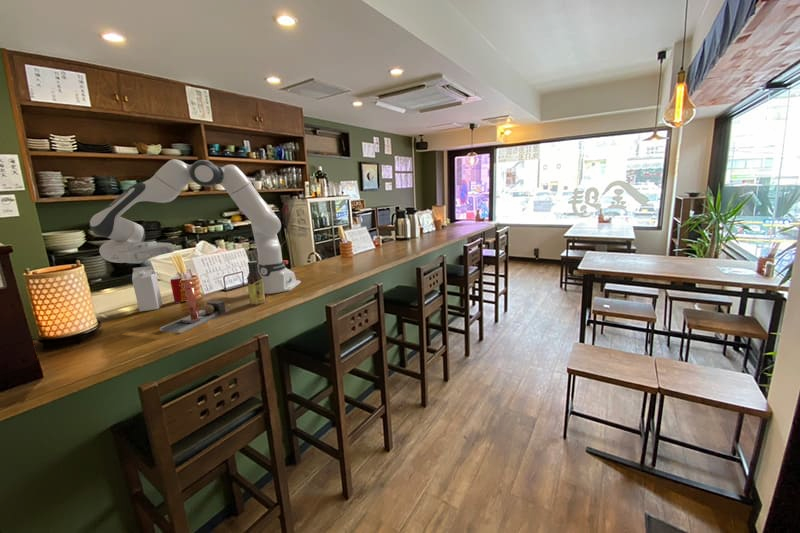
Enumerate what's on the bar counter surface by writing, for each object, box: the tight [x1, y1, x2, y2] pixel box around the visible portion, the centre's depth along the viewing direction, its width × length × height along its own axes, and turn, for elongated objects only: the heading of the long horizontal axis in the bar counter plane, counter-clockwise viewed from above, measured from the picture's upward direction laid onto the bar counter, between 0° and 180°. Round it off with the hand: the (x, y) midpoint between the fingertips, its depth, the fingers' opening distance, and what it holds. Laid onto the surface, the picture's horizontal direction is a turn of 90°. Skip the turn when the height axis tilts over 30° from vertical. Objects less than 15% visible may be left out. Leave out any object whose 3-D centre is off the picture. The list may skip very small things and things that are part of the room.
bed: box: [159, 299, 231, 334], centre depth 137 cm, size 24×10×5 cm, turn 163°
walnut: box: [202, 304, 214, 315], centre depth 142 cm, size 4×4×4 cm
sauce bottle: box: [246, 260, 266, 307], centre depth 152 cm, size 6×6×20 cm
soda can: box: [170, 275, 182, 304], centre depth 163 cm, size 6×6×12 cm
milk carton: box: [131, 265, 163, 312], centre depth 155 cm, size 7×7×19 cm
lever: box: [181, 280, 206, 323], centre depth 135 cm, size 7×7×16 cm
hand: (161, 252), depth 136 cm, fingers open, 8 cm apart
